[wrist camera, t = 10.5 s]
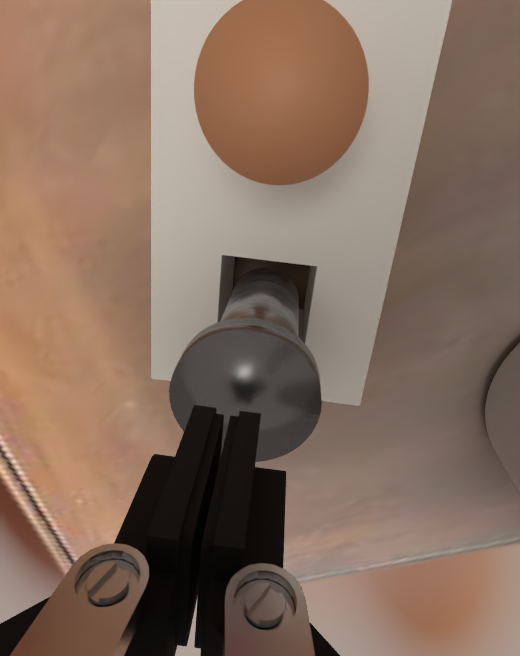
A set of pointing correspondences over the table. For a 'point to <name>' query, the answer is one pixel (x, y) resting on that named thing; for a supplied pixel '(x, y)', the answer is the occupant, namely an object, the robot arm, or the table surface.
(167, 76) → the block
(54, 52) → the table surface
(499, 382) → the cylinder vase
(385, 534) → the table surface
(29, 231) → the table surface
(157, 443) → the table surface
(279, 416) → the grey plug
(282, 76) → the rust plug
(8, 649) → the robot arm
